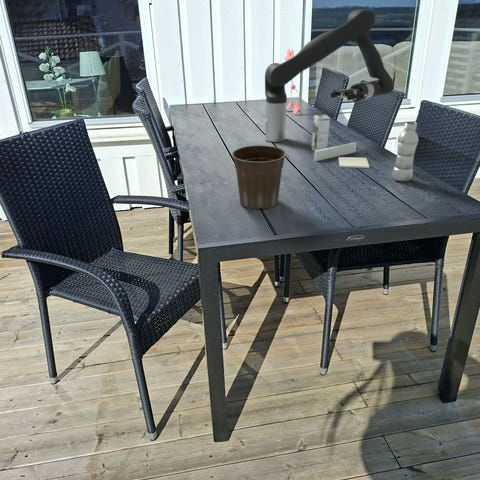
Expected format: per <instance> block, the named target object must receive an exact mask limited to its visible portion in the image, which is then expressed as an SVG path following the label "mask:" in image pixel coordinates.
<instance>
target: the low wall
mask: <svg viewBox="0 0 480 480" xmlns="http://www.w3.org/2000/svg"><path fill="white" fill-rule="evenodd" d="M356 152H357V142H355V141H354V142H350V143H345V144H339V145H335V146H331V147H327V148H325V149H321V150H316V151H315V152H313V153H314V156H313V161H314V162H318V161H323V160H327V159H328V160H329V159H330V158H331V159H332V158H336V157H337V158H338V157H342V156H346V155H349V154H352V153H353V154H354V153H356Z"/></svg>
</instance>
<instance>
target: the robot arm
mask: <svg viewBox="0 0 480 480" xmlns="http://www.w3.org/2000/svg"><path fill="white" fill-rule="evenodd" d="M375 22H376V15H375V14H374V12H373V11H371V10H370V9H365V8H361V9H360V8H359V9H354V10H353V11H351V12H350V13H349V15H348V16H347V20H346V22H345V23H344V24H341V26H338V27H336V28H333V29H330V30H328V31H326V32H324V33H322V34H319V35H317V36H316V37H315V38H313V39H311V40H310V41H308V42H307V43H306V44H305V45H304V46H303V47H302V48H301V49H300V50H299V51H298V52H297V53H296V54H295V55H294V57H292V58H291V59H289V60H287V61H286V60H285V61H284V62H282V63H279V62H273V63H271V64H269V65H268V66H267V67H266V69H265V72H264V74H265V75H264V93H265V94H264V95H265V98H266V100H265V111H266V112H265V123H264V124H265V130H264V131H265V133H264V141H265V142H270V143H271V142H272V143H273V142H274V143H276V142H277V143H280V142H284V141H286V129H287V128H286V127H287V117H286V116H287V110H286V107H287V106H288V105H287V103H288V99H287V98H288V97H287V94H286V93H287V92H286V88H285V87H286V86H285V85H287V84H288V83H289V82H290V81H291V80H292V81H293V79H294V78H296V77H297V76H298V75H299V74H302V73H301V72H302V71H303V72H304V71H306V70H307V69H309V68H311V67H312V66H314V65H316V64H317V63H319V62H321V61H322V60H324V59H325V58H327V57H329V56H330V55H331V54H334V52H336V51H337V50H339V49H340V48H342V47H343V46H344V45H346V44H347V43H349V42H351V41H352V40H355V42H356V44H357V46H358V48H359V52H360V53H361V55H362V58H363V60H364V63H365V67H366V68H367V73H368V74H369V77H370V78H373V79H375V80H371V81H366V82H365V81H362V82H358V83H354V84H351V86H350V87H349V88H345V89H344V88H339V89H338V88H337V89H333V91H332V92H331V93H330V98H331V99H332V98H341V99H346V100H347V101H353V102H356V103H357V102H360V101H364V100H367V99H371V98H374V97H376V96H383V95H389V94H391V93H392V92H393V91H394V88H395V83H394V80H393V78H392V77H391V75H390V74H389V72H388V71H387V70H386V68H385V64H384V63H383V59H382V56H381V54H380V52H379V50H378V49H377V48H376V45H375V44H374V43H373V41H372V39H371V36H370V34H369V31H371V29H372V28H373V27H374V25H375ZM292 81H291V82H292Z"/></svg>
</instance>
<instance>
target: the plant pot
mask: <svg viewBox="0 0 480 480" xmlns="http://www.w3.org/2000/svg"><path fill="white" fill-rule="evenodd" d="M286 156H287V152H286V151H285V150H284V149H283V148H280V147H278V146H277V147H276V146H272V145H271V146H270V145H262V144H261V145H259V144H257V145H248V146H243V147H239V148H236V149H235V150H233V151H232V153H231V157H232V158H233V163H234V168H235V170H236V171H235V172H236V178H237V179H236V181H237V187H238V194H239V195H238V197H239V203H240V205H241V206H243V207H245V208H247V209H249V210H250V209H251V210H260V209H263V210H268V209H271V208H273V207H276V205H278V203H279V195H280V188H281V177H282V173H283V172H282V170H283V168H284V164H285V158H286Z"/></svg>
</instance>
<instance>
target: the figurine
mask: <svg viewBox="0 0 480 480" xmlns="http://www.w3.org/2000/svg"><path fill="white" fill-rule="evenodd" d="M294 56H295V55H294V49H293V48H292V49H291V50H290V49H289V48H287V51H286V56H285V57H284V61H285V62H286V61H287V60H289V59H291V58H292V57H294ZM303 72H304V71H302V72H301V73H300V74H303ZM292 90H294V91H295V92H297V93H298V98H297V102H296V104H295V105H294V103H293V100H290V102H289V103H288V105H287V106H286V111H287V110H289V108H290V107H291V106H292V108H290V110H291V109H292V112H293V113H292V114H294V115H293V116H295V115H296V114H297V113H298V112H299V114H300V115H302V111H301V109H300V104H299V99H300V96H301V93H300V91H298V90H297V89H296V85H295V84H293V79H292V80H291V85H290V96H292ZM286 118H288V116H287V115H286Z"/></svg>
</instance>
